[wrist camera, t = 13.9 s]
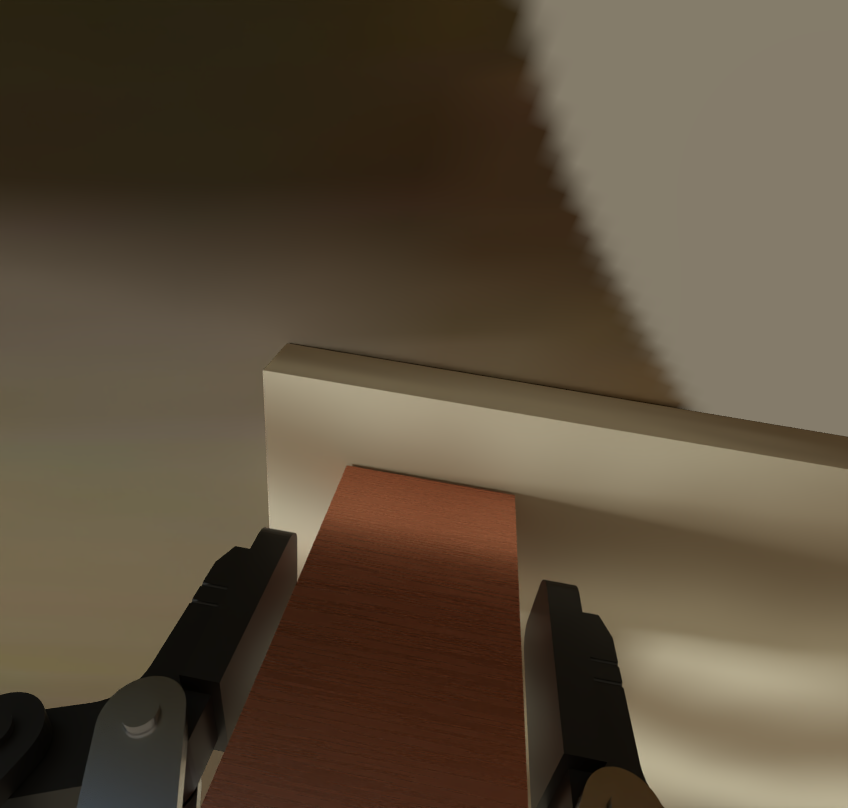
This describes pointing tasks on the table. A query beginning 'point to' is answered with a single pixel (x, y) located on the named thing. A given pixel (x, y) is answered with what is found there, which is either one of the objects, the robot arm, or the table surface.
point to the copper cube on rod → (391, 660)
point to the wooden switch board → (624, 550)
